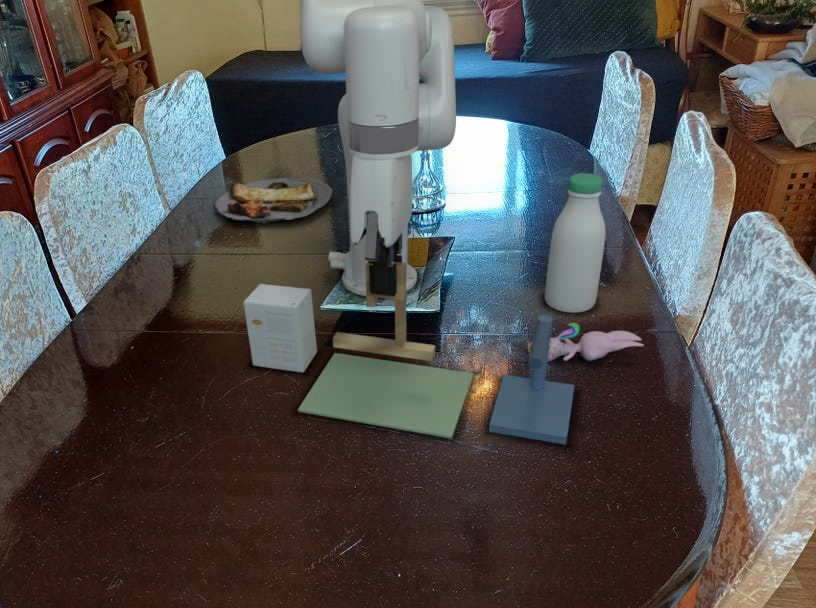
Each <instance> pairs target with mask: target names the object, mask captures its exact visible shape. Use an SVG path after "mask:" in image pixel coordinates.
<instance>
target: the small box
mask: <svg viewBox="0 0 816 608" xmlns="http://www.w3.org/2000/svg"><path fill="white" fill-rule="evenodd" d="M312 295H313V294H312V289H311V288H304V287H294V286H284V285H274V284H265V283H259V284H258V285H257V286H256V288H255V289H253V291H252V292H251V293H250V294H249V295H248V296H247V297H246V298H245V299H244V301H243V309H244V316H245V322H246V329H247V336H248V343H249V348H250V355H251V362H252V363H251V364H252V365H253V366H254V367H261V368H268V369H275V370H282V371H289V372H296V373H305V371H306V370H307V368H308V367H309V366H310V364H311V363H312V361H313V359H314V358H315V356H316V354H317V353H318V347H317V346H318V345H317V336H316V326H315V317H314V316H315V315H314V307H313V306H314V305H313V296H312Z"/></svg>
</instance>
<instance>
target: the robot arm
mask: <svg viewBox="0 0 816 608" xmlns="http://www.w3.org/2000/svg"><path fill="white" fill-rule="evenodd" d="M299 1H300V4H299V5H300V6H299V37H300V46H301V47H300V48H301V52H302V56H303V58H304V61H305V63H306V64H307V65H308V67H309V68H310V69H311V70H313V71H314V72H317V73H319V74H324V75H333V74H334V75H336V74H337V75H338V74H344V75H345V91H346V92H345V94H344V95H343V96H342V97H341V99H340V101H339V104H338V107H337V123H338V128H339V134H340V139H341V144H342V149H343V150H342V151H343V155H344V162H345V175H346V189H347V190H346V191H347V192H346V193H347V206H348V207H347V208H348V226H349V227H348V232H349V249H350V250H349V251H346V253H344V252H339V251H329V253H328V257H327V258H328V259H327V261H328V263H330V268H331V269H339V270H341V269H342V270H343V273H342V275H341V277H342V285H343V286H344V288H345V289H346V290H348V292H351V293H353V294H355V295H358V296H363V297H366V271H365V264H366V263H367V262H368V264H369V282H370V292H371V293H372V294H378V295H387V296H395V295H396V293H397V264H393V263H394V262H401V263H406V292H408V291H409V290H411V289H412V288H413V287H415V285H416V284H417V281H418V273H417V271H416V269H415V268H414V267H413V266H412V265H410V264H409V257H408V256H409V252H408V251H409V231H408V229H409V226H408V225H409V222H410V221H411V219H412V215H413V203H414V202H413V199H414V197H413V196H414V194H413V193H414V186H413V156H412V155H413V154H414V153H416V152H423V151H435V150H441V149H444V148H447V147H448V146H449V145H451V143H452V142H453V140H454V137H455V135H456V129H457V128H456V127H457V99H456V98H457V97H456V96H457V95H456V93H457V92H456V66H455V65H456V63H455V39H454V28H453V24H452V21H451V18H450V15H449V14H448V12H447V11H446V10H444V8H442V7H439V6H437V5H425V4H424V3H423V1H422V0H299ZM420 80H422V82H423V83H420Z"/></svg>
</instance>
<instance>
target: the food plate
mask: <svg viewBox="0 0 816 608" xmlns="http://www.w3.org/2000/svg"><path fill="white" fill-rule="evenodd" d="M230 186H231V187H230V189H228V190H226V191H224V192H222V194H220V195H218V197H217V198H216V199H215V200H214V202H213V204H212V205H213V209H214V210H215V211H216V213H217V214H218V215H219V216H222V219H224V218H226V219H229V218H230V219H231V220H232V221H250V222H253V223H258V224H260V223H261V224H262V225H263V224H264V225H265V224H267V223H271V222H280V221H282V220H286V221H289V220H294V219H299V218H303V217H307V216H308V215H311V214H313V213H314V212H315V211H317V210H318V209H321V208H322V207H323V206H325V205H326V204H327V203H328V202H330V200H331V198H332V195H333V189H332V188H331V187H330V186H329V185H328V184H327V183H325V182H323V181H321V180H317V179H309V178H304V177H300V176H287V177H286V176H285V177H275V178H267V179H260V180H259V179H258V180H255V181H250V182H247V183H244V184H243V183H240V182H234V183H232V184H231V185H230Z"/></svg>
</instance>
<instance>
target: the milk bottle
mask: <svg viewBox="0 0 816 608" xmlns="http://www.w3.org/2000/svg"><path fill="white" fill-rule="evenodd" d="M603 183H604V180H603V178H602V177H601V176H600V175H598V174H594V173H576V174H573V175H571V176H570V177H569V179H568V186H567V194H568V198H567V200H566V203H565V205H564V207H563V209H562V210H561V211H560V213H559V215H558V216H557V218H556V220H555V222H554V226H553V229H552V232H551V239H550V246H549V254H548V261H547V268H546V269H547V271H546V278H545V287H544V300H545V303H546V304H547V305H548V306H549V307H550V308H552V309H554V310H556V311H559V312H564V313H570V314H571V313H572V314H573V313H583V312H587V311H589V310H591V309H592V308H593V307H594V306H595V304H596V302H597V298H598V297H597V296H598V291H599V284H600V278H601V271H602V264H603V259H604V251H605V245H606V243H605V242H606V224H605V219H604V217H603V214H602V211H601V207H600V196H601V194H602V189H603Z"/></svg>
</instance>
